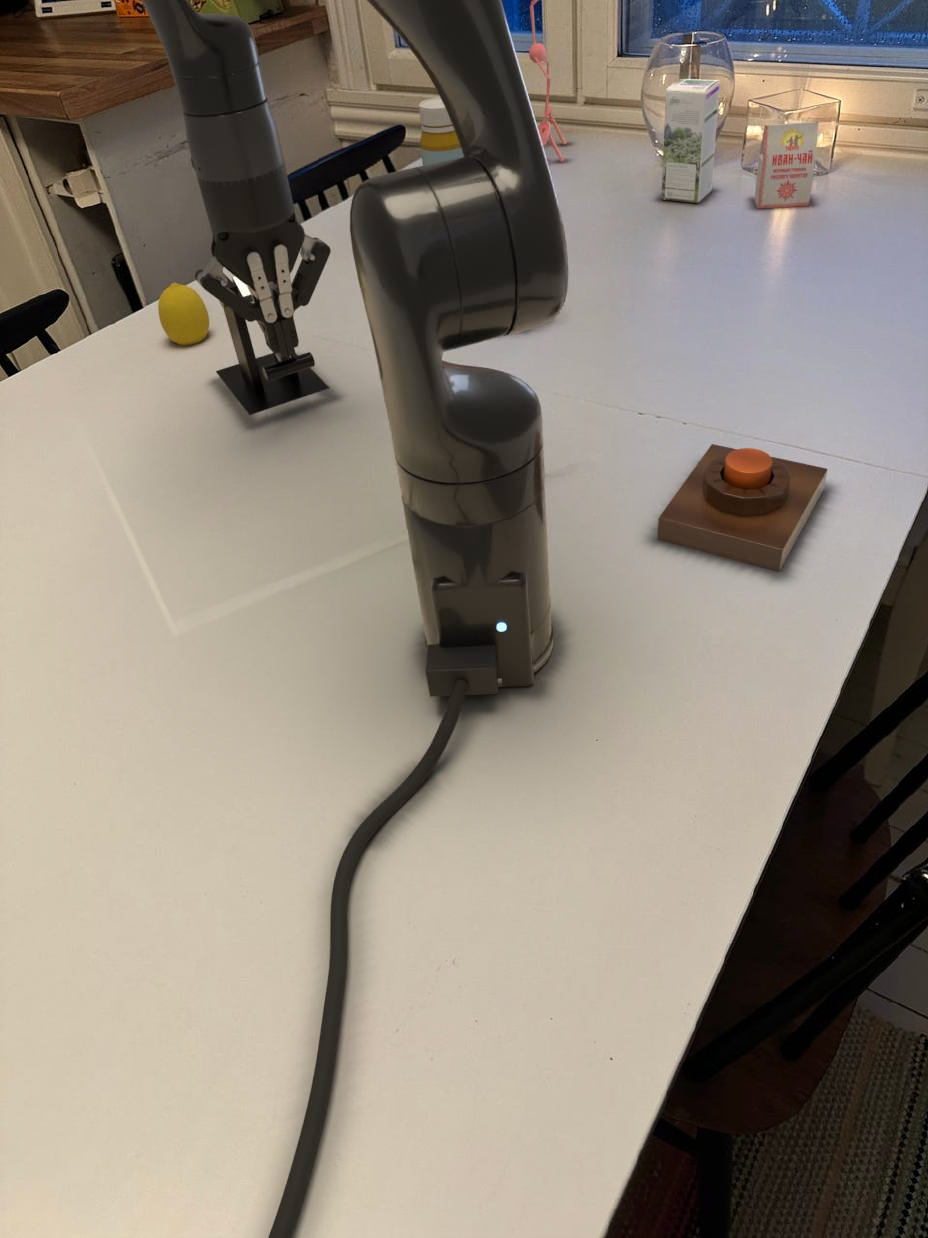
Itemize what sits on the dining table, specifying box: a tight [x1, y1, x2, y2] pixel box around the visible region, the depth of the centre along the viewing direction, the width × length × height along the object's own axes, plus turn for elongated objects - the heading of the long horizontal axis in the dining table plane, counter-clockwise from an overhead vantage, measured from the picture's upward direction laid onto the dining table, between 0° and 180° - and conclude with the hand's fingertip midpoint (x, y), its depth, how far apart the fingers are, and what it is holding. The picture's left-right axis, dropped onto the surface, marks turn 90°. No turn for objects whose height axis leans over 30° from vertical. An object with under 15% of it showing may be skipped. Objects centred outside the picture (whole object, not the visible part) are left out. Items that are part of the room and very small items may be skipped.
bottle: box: [418, 96, 464, 166], centre depth 132 cm, size 7×7×15 cm
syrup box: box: [661, 78, 721, 204], centre depth 129 cm, size 6×6×14 cm
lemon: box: [157, 282, 210, 346], centre depth 109 cm, size 6×6×8 cm
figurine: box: [528, 0, 573, 163], centre depth 143 cm, size 15×26×35 cm, turn 173°
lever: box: [231, 275, 316, 381], centre depth 93 cm, size 12×5×2 cm, turn 29°
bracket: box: [215, 272, 330, 416], centre depth 97 cm, size 12×9×13 cm
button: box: [724, 447, 772, 490], centre depth 74 cm, size 4×4×2 cm
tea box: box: [753, 121, 819, 210], centre depth 125 cm, size 4×7×10 cm, turn 84°
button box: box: [656, 443, 828, 572], centre depth 76 cm, size 12×10×4 cm
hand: (285, 352), depth 90 cm, fingers closed
